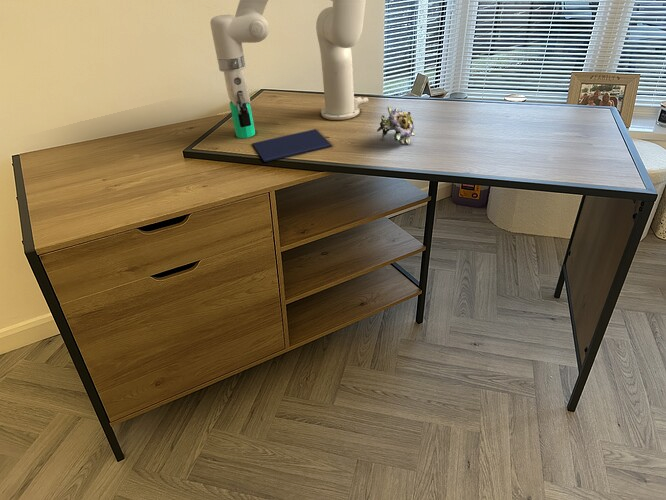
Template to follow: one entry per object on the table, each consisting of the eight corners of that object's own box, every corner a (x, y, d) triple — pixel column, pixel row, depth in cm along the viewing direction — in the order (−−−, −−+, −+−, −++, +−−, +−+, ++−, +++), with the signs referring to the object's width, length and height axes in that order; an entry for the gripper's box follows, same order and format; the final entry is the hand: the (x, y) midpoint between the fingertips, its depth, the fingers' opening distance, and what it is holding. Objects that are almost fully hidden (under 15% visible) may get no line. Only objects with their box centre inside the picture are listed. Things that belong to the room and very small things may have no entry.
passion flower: (406, 161, 138) (406, 139, 127) (371, 150, 141) (367, 128, 129) (419, 128, 140) (420, 104, 129) (384, 118, 143) (382, 94, 132)
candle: (251, 138, 147) (244, 99, 140) (233, 138, 148) (225, 99, 141) (258, 130, 152) (251, 92, 145) (240, 130, 153) (232, 92, 146)
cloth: (315, 130, 148) (315, 128, 148) (331, 146, 137) (331, 144, 137) (252, 144, 143) (252, 142, 143) (264, 162, 132) (264, 160, 132)
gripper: (251, 68, 132) (261, 127, 142) (238, 54, 145) (247, 110, 155) (224, 72, 130) (236, 132, 140) (213, 58, 143) (224, 114, 153)
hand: (242, 121), depth 147 cm, fingers open, 9 cm apart
